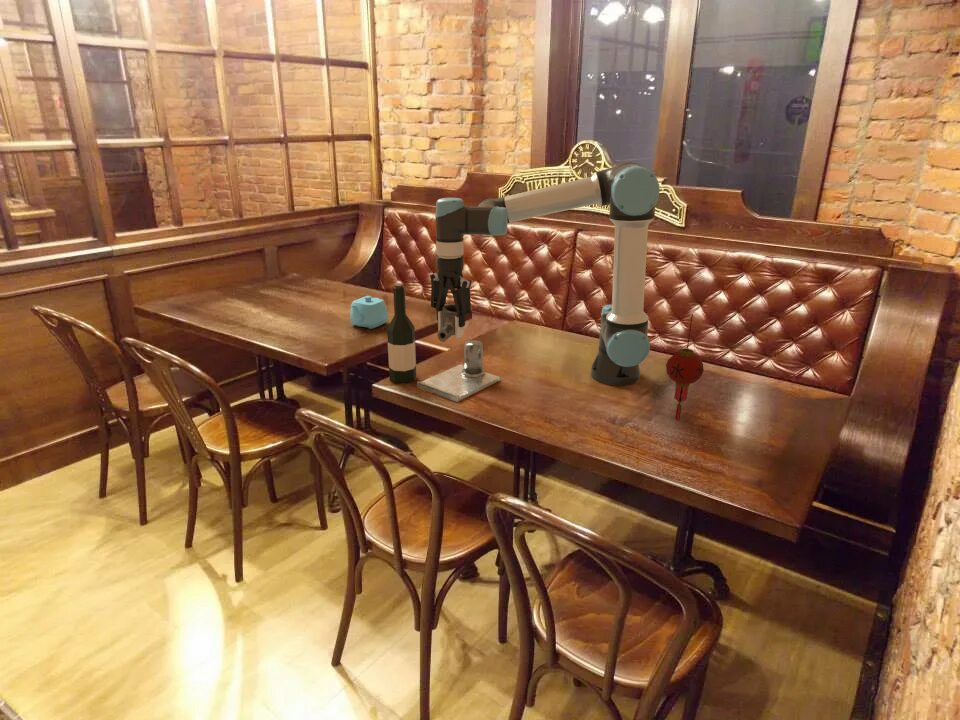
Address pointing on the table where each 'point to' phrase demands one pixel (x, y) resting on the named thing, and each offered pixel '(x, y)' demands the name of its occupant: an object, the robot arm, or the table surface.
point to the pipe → (448, 322)
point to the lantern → (684, 372)
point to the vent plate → (461, 376)
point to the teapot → (368, 312)
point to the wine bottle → (401, 341)
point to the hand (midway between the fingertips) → (450, 334)
